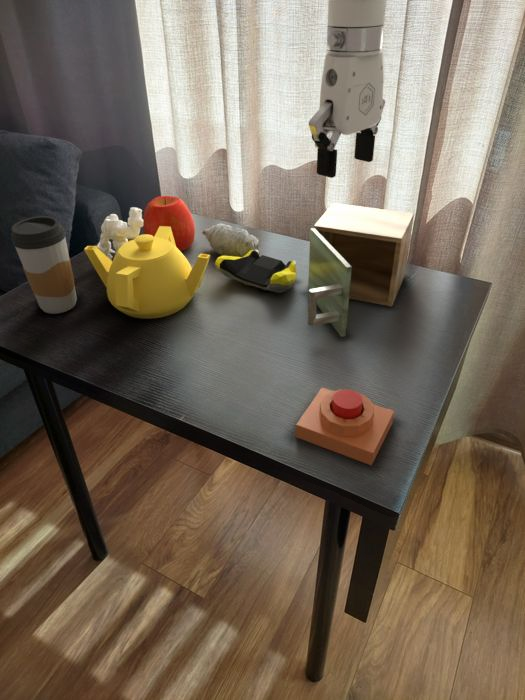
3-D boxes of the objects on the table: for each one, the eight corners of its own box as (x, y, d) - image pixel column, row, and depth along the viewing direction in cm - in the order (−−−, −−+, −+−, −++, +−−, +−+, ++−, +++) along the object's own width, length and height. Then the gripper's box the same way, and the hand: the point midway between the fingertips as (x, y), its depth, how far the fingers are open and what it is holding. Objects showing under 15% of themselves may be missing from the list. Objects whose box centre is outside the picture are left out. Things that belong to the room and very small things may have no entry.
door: (310, 343, 82) (313, 273, 74) (281, 297, 93) (281, 232, 86) (345, 336, 83) (352, 266, 76) (312, 291, 94) (314, 227, 87)
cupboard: (391, 306, 90) (401, 238, 82) (311, 291, 95) (313, 225, 87) (404, 277, 98) (414, 213, 91) (329, 264, 103) (332, 202, 95)
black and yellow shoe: (280, 308, 90) (309, 283, 97) (280, 280, 87) (310, 256, 94) (212, 285, 97) (243, 263, 104) (209, 258, 94) (242, 238, 101)
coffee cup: (63, 288, 97) (42, 211, 89) (93, 301, 93) (73, 221, 85) (24, 308, 92) (-3, 228, 83) (53, 322, 88) (28, 240, 79)
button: (365, 405, 65) (367, 394, 64) (355, 423, 63) (356, 412, 62) (338, 396, 67) (339, 385, 65) (327, 413, 64) (328, 402, 63)
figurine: (154, 263, 105) (144, 205, 98) (144, 275, 101) (134, 215, 94) (106, 259, 107) (93, 202, 99) (95, 271, 103) (81, 212, 95)
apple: (135, 246, 111) (127, 197, 105) (176, 230, 117) (170, 183, 111) (166, 262, 105) (158, 211, 99) (207, 244, 111) (203, 195, 105)
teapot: (126, 336, 84) (111, 270, 77) (92, 293, 96) (77, 232, 89) (217, 305, 92) (212, 242, 84) (176, 268, 103) (168, 210, 96)
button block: (392, 423, 68) (396, 400, 65) (371, 465, 62) (375, 442, 60) (321, 399, 72) (322, 376, 69) (295, 437, 66) (296, 414, 64)
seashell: (215, 226, 112) (217, 198, 105) (261, 264, 108) (267, 238, 101) (193, 241, 109) (194, 214, 102) (240, 281, 105) (245, 255, 99)
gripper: (338, 50, 64) (330, 188, 74) (411, 36, 74) (396, 159, 84) (291, 46, 68) (290, 176, 79) (367, 33, 78) (357, 150, 89)
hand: (345, 167), depth 82 cm, fingers open, 9 cm apart
